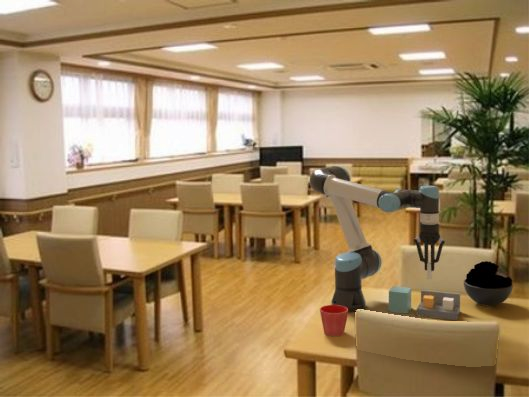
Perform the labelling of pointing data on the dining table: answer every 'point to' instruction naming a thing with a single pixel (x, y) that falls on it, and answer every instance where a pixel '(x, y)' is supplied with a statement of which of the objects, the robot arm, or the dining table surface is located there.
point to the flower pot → (334, 319)
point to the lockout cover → (400, 299)
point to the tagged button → (428, 301)
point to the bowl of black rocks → (487, 284)
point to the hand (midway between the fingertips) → (429, 278)
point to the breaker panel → (439, 305)
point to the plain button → (448, 303)
